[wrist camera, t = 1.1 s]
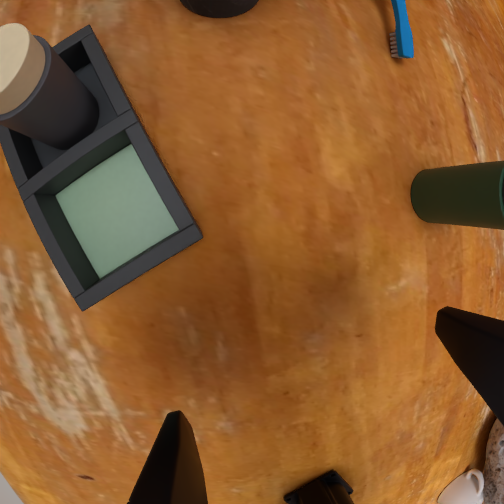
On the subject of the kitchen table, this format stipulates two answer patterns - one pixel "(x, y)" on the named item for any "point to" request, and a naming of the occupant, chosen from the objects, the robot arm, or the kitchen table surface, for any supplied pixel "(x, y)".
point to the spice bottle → (461, 195)
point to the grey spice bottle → (42, 91)
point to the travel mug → (219, 7)
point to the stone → (494, 466)
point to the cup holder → (100, 188)
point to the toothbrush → (401, 32)
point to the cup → (464, 489)
